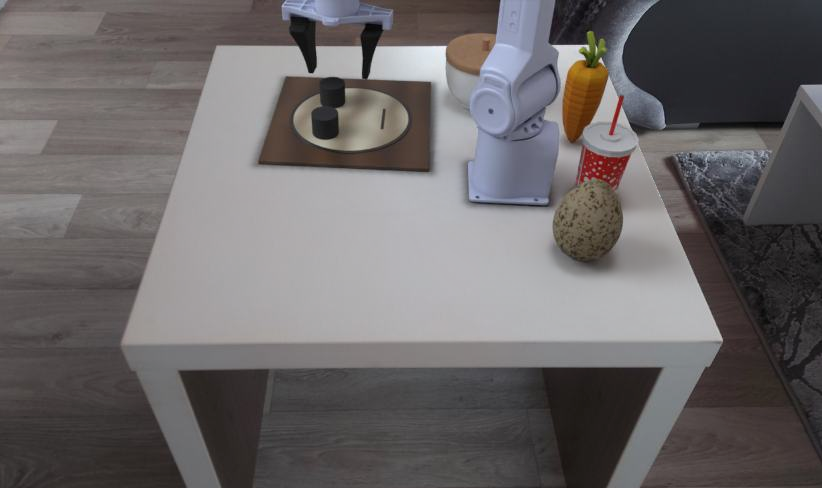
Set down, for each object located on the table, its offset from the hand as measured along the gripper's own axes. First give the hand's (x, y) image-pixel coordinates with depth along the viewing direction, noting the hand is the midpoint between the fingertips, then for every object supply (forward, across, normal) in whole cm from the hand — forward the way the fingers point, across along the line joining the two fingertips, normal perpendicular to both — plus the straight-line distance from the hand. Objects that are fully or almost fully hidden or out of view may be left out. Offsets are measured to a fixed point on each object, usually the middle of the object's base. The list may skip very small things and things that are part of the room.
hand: (339, 72), depth 96 cm
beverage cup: (+5, +35, -14) cm, 38 cm away
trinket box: (+5, +19, +6) cm, 21 cm away
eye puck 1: (+5, -1, 0) cm, 5 cm away
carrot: (+5, +33, -3) cm, 33 cm away
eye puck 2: (+5, 0, -8) cm, 9 cm away
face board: (+5, +2, -4) cm, 7 cm away
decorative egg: (+5, +34, -25) cm, 42 cm away
